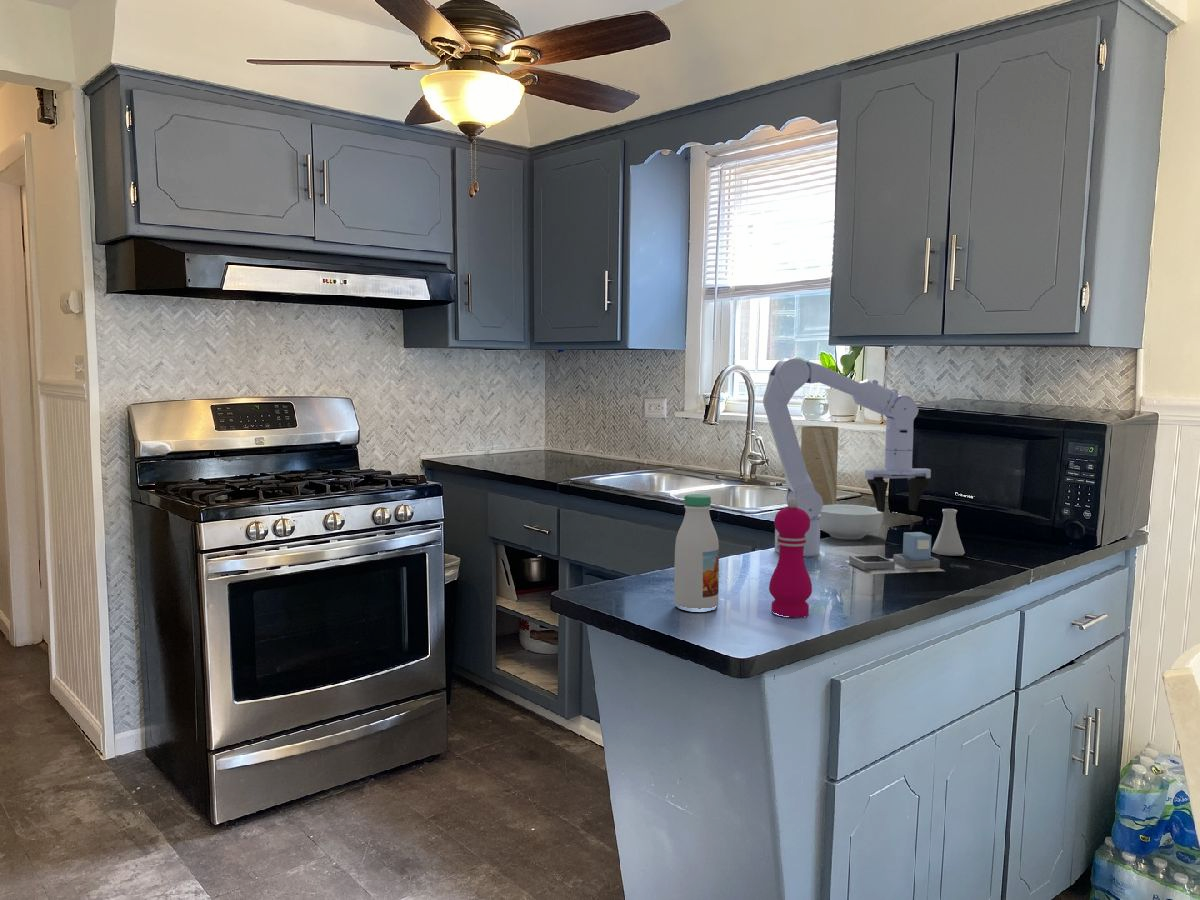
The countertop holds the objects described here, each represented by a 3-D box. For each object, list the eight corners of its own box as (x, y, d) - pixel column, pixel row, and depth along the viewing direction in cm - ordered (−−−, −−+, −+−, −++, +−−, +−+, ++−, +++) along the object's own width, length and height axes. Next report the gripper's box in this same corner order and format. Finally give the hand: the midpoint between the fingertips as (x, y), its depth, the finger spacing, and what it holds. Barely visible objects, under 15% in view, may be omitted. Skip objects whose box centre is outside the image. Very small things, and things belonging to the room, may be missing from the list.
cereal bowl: (896, 538, 219) (897, 510, 218) (851, 546, 209) (852, 516, 209) (842, 527, 233) (843, 501, 232) (797, 534, 223) (798, 506, 223)
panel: (869, 578, 178) (870, 566, 178) (843, 565, 190) (843, 553, 189) (946, 575, 181) (947, 562, 180) (915, 562, 192) (916, 550, 192)
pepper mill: (803, 621, 148) (806, 503, 146) (762, 615, 152) (764, 499, 150) (817, 611, 154) (820, 497, 152) (777, 605, 158) (780, 494, 156)
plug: (914, 568, 183) (915, 536, 182) (902, 563, 187) (903, 532, 187) (932, 567, 183) (933, 536, 183) (920, 562, 188) (921, 532, 187)
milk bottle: (687, 616, 152) (689, 499, 150) (666, 604, 159) (667, 493, 157) (726, 611, 155) (728, 497, 153) (704, 600, 162) (705, 491, 160)
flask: (968, 557, 198) (969, 513, 197) (933, 556, 199) (935, 511, 198) (961, 550, 205) (963, 507, 204) (928, 549, 206) (930, 506, 205)
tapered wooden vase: (791, 515, 251) (793, 427, 249) (815, 511, 257) (817, 425, 255) (820, 520, 243) (822, 429, 241) (843, 516, 249) (846, 427, 247)
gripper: (876, 452, 190) (874, 514, 191) (939, 450, 192) (936, 513, 194) (861, 448, 197) (859, 509, 198) (922, 447, 199) (919, 507, 201)
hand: (896, 510), depth 196 cm, fingers open, 7 cm apart
